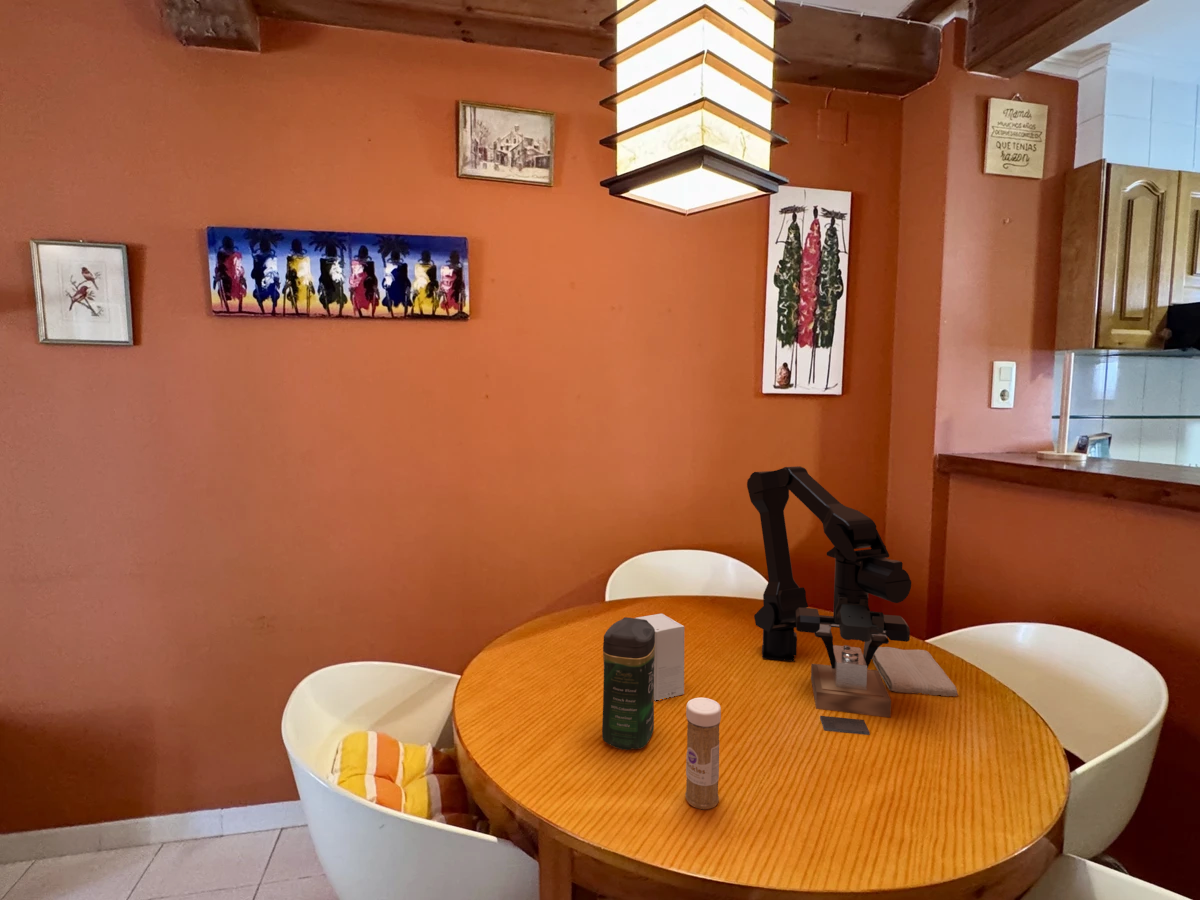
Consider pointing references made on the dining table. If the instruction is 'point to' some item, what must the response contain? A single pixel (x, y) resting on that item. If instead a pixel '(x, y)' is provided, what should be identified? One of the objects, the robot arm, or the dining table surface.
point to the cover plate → (844, 725)
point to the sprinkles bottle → (702, 752)
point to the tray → (850, 693)
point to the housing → (849, 668)
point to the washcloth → (912, 672)
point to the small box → (667, 656)
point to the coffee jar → (628, 683)
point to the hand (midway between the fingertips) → (848, 669)
